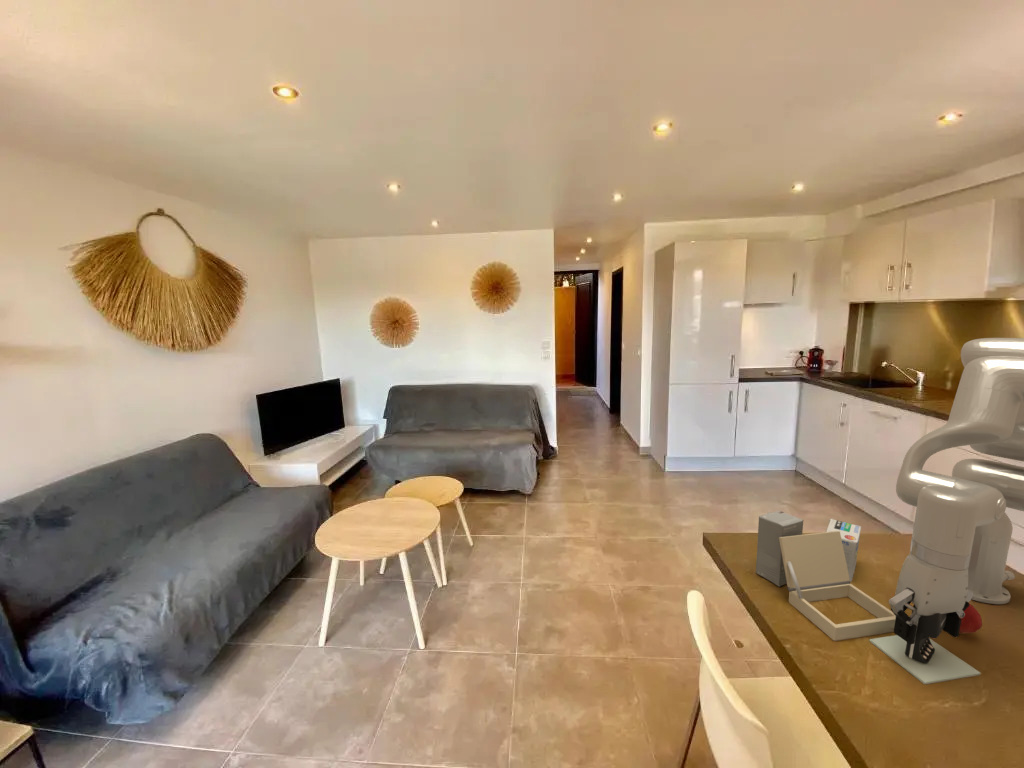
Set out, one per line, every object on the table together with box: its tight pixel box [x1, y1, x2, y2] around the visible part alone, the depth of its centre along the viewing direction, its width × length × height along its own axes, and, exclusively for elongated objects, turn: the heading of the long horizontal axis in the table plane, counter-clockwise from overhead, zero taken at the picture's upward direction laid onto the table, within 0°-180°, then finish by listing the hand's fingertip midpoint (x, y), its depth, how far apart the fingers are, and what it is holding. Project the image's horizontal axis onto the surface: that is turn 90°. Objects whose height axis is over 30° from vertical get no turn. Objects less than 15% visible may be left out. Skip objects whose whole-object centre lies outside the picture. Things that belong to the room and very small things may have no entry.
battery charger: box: [905, 603, 947, 664], centre depth 78 cm, size 7×4×11 cm, turn 123°
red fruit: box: [959, 603, 983, 634], centre depth 84 cm, size 6×6×8 cm
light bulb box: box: [825, 518, 862, 582], centre depth 105 cm, size 11×7×11 cm, turn 136°
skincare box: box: [755, 510, 804, 587], centre depth 103 cm, size 8×7×16 cm
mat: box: [868, 634, 982, 685], centre depth 79 cm, size 12×10×1 cm
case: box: [779, 531, 896, 642], centre depth 91 cm, size 16×16×14 cm
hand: (925, 635), depth 78 cm, fingers open, 9 cm apart
